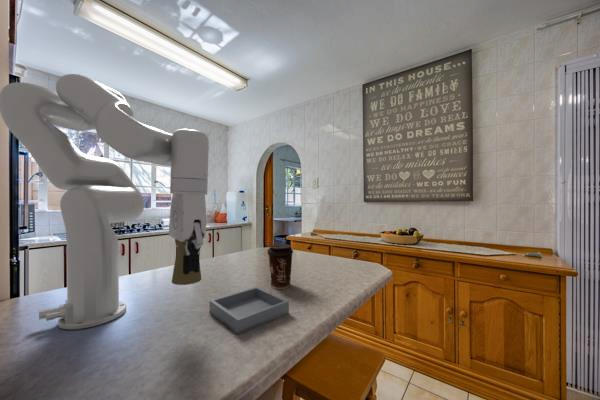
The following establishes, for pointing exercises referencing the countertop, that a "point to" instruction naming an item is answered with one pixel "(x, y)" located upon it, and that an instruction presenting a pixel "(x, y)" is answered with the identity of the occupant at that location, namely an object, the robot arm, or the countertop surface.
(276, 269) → the coffee cup
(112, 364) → the countertop surface
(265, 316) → the tray
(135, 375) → the countertop surface
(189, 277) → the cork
